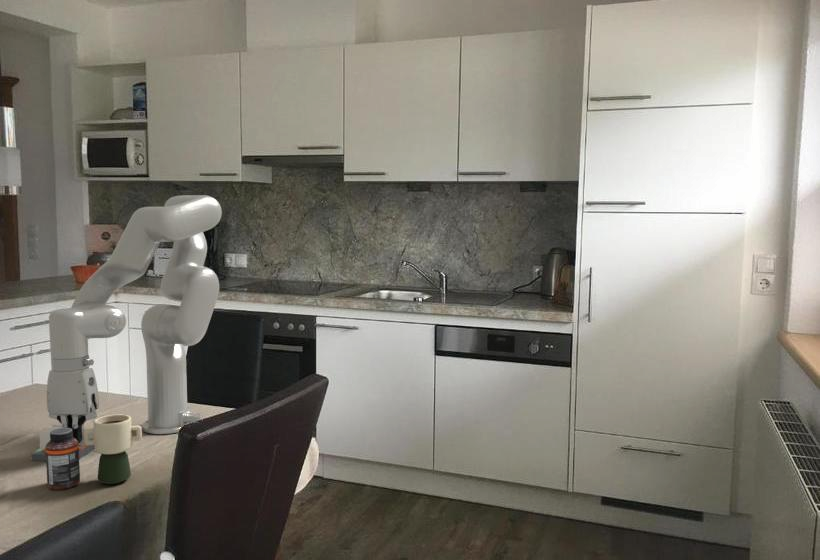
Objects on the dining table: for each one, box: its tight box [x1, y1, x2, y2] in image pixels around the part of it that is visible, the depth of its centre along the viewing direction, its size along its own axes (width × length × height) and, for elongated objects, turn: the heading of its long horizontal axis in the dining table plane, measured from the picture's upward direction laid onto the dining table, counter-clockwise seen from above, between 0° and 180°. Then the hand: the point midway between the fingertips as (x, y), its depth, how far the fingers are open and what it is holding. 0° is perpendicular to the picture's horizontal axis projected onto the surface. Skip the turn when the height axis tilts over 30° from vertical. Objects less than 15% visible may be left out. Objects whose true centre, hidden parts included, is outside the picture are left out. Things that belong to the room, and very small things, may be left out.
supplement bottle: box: [45, 428, 81, 491], centre depth 136 cm, size 6×6×11 cm
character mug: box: [83, 413, 143, 485], centre depth 138 cm, size 11×7×13 cm, turn 108°
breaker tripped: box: [38, 426, 61, 449], centre depth 153 cm, size 3×3×4 cm
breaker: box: [51, 421, 63, 428], centre depth 158 cm, size 3×3×4 cm
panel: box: [30, 432, 95, 462], centre depth 158 cm, size 10×16×2 cm, turn 176°
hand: (74, 443), depth 153 cm, fingers closed
